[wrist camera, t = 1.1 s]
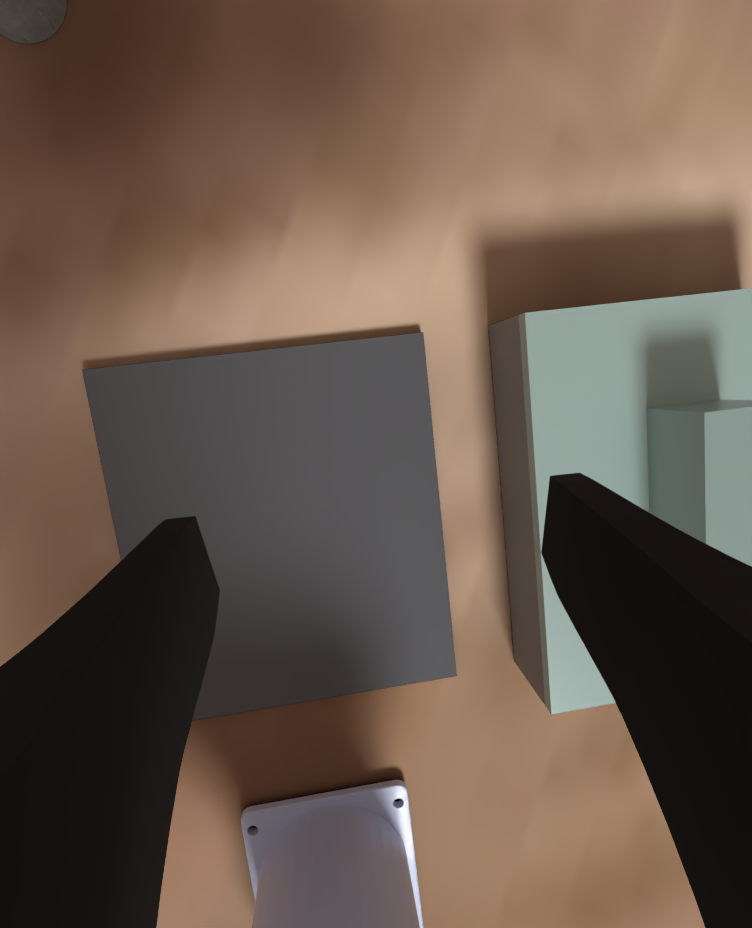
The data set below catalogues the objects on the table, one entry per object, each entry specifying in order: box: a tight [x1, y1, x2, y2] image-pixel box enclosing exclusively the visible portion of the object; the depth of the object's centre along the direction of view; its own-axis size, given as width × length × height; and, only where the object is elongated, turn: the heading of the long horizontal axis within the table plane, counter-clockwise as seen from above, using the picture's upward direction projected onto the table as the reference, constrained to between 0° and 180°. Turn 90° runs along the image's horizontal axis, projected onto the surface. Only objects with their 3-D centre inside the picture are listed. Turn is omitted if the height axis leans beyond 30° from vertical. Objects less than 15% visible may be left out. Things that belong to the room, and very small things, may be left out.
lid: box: [519, 288, 752, 714], centre depth 19 cm, size 16×12×4 cm
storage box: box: [489, 315, 545, 704], centre depth 23 cm, size 16×12×4 cm
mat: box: [82, 332, 457, 721], centre depth 23 cm, size 16×14×1 cm
